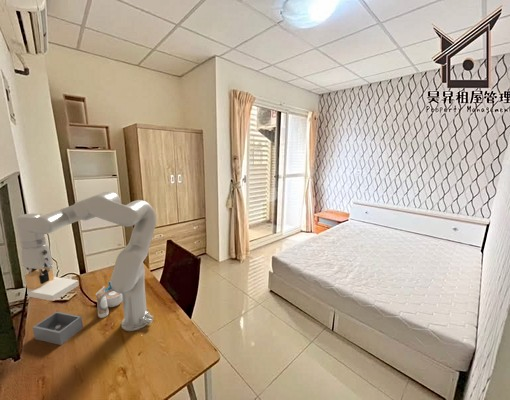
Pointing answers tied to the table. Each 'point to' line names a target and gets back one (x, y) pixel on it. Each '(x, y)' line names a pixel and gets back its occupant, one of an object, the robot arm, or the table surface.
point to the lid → (48, 286)
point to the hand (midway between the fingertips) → (40, 281)
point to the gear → (108, 287)
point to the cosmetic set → (107, 301)
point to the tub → (58, 328)
